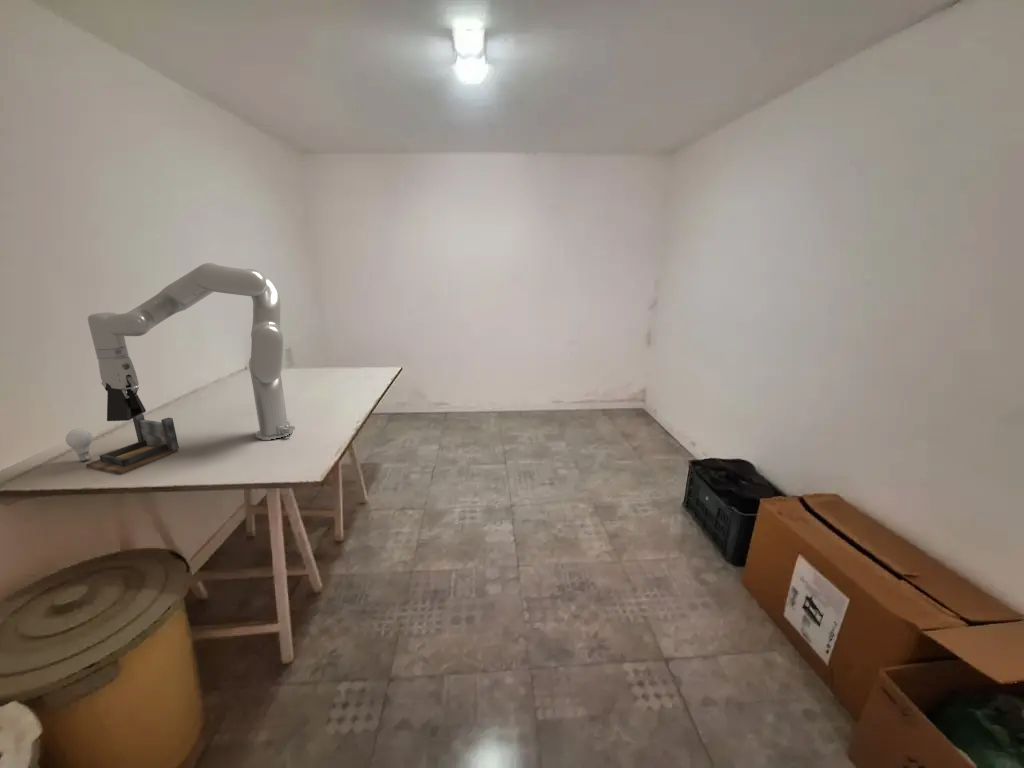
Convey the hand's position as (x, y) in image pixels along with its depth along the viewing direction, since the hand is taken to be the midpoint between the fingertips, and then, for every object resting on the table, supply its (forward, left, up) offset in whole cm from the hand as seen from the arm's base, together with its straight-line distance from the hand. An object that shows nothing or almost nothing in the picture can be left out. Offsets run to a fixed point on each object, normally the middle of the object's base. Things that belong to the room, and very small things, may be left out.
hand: (125, 407), depth 150 cm
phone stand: (0, 0, -3) cm, 3 cm away
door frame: (0, +1, -18) cm, 18 cm away
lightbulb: (+14, +7, -18) cm, 24 cm away
